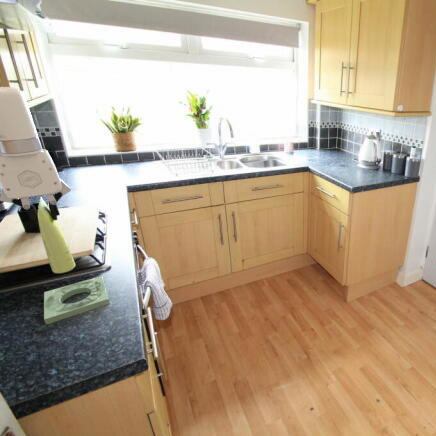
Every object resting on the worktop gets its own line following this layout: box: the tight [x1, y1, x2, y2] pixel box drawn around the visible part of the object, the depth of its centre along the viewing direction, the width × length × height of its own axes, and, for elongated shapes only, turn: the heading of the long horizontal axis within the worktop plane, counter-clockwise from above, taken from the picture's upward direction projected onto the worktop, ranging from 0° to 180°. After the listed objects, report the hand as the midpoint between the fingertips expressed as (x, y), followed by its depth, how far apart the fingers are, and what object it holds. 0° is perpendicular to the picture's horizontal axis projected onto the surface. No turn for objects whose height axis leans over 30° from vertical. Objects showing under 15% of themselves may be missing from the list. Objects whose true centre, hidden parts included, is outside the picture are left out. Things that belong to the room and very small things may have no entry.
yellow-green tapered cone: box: [37, 196, 76, 274], centre depth 81 cm, size 6×5×20 cm
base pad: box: [43, 275, 111, 325], centre depth 91 cm, size 14×14×3 cm
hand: (46, 219), depth 79 cm, fingers closed on yellow-green tapered cone, 2 cm apart
